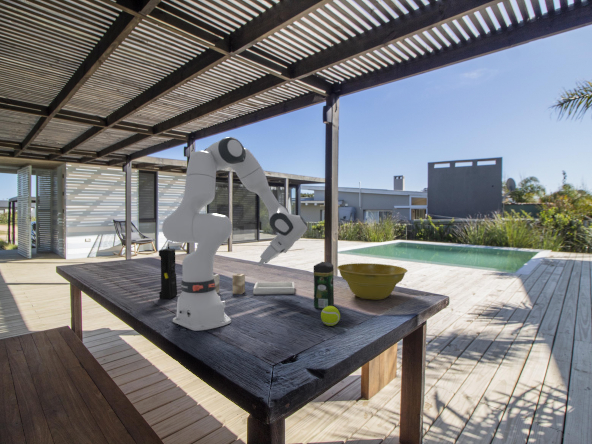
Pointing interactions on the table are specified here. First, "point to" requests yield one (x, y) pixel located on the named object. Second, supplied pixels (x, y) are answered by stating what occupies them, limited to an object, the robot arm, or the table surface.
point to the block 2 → (238, 283)
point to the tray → (274, 288)
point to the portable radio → (168, 274)
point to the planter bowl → (371, 279)
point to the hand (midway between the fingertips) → (262, 263)
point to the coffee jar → (323, 285)
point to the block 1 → (216, 281)
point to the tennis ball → (330, 315)
